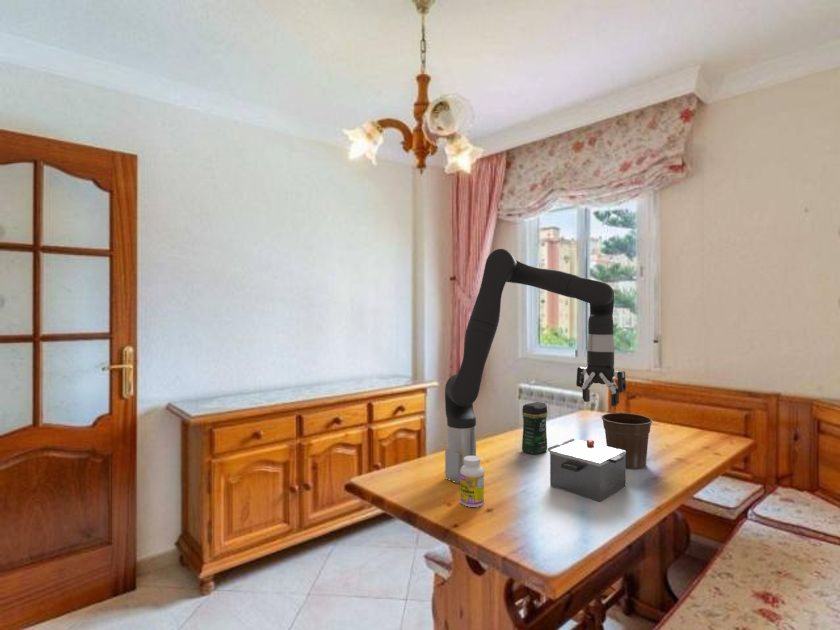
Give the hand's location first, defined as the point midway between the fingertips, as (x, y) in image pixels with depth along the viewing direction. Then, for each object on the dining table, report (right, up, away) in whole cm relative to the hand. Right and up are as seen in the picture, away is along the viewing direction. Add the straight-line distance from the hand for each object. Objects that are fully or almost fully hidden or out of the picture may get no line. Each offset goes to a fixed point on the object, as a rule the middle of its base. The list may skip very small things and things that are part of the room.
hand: (600, 403), depth 138 cm
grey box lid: (-2, -16, +3) cm, 16 cm away
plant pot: (+18, -26, +24) cm, 40 cm away
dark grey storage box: (-2, -26, +4) cm, 26 cm away
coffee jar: (-10, -26, +39) cm, 48 cm away
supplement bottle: (-39, -27, -8) cm, 48 cm away
